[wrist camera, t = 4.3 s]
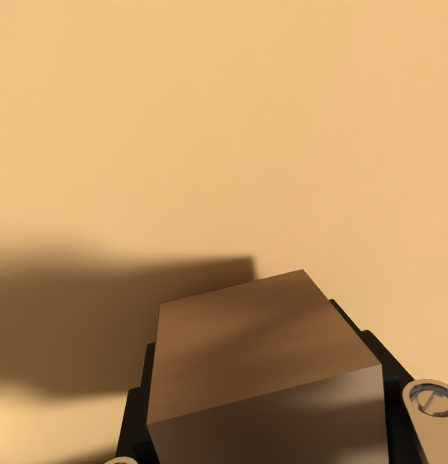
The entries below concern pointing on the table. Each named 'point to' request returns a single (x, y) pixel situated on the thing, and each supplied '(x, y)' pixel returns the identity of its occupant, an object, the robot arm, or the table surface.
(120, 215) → the table surface
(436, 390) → the robot arm
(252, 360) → the walnut cube
